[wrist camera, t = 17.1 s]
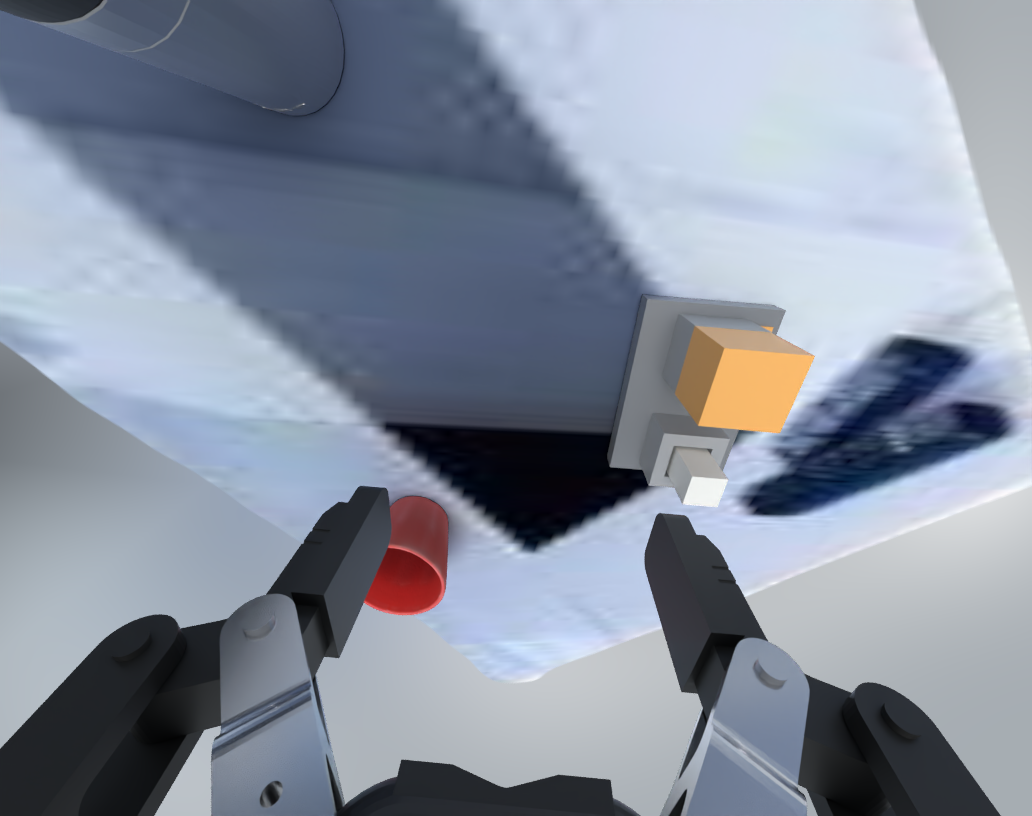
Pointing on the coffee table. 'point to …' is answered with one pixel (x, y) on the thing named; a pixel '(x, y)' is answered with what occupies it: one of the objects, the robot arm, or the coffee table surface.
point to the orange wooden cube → (741, 378)
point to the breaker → (696, 476)
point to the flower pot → (412, 559)
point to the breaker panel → (672, 382)
